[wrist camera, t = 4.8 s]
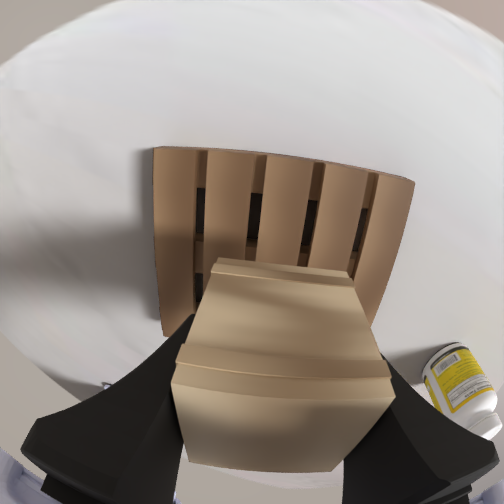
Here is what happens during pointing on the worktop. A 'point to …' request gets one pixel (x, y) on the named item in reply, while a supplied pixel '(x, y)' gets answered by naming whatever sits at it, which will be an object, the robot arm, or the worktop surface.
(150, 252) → the worktop surface
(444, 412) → the supplement bottle
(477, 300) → the worktop surface
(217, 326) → the cardboard box
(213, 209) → the pallet
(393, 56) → the worktop surface
